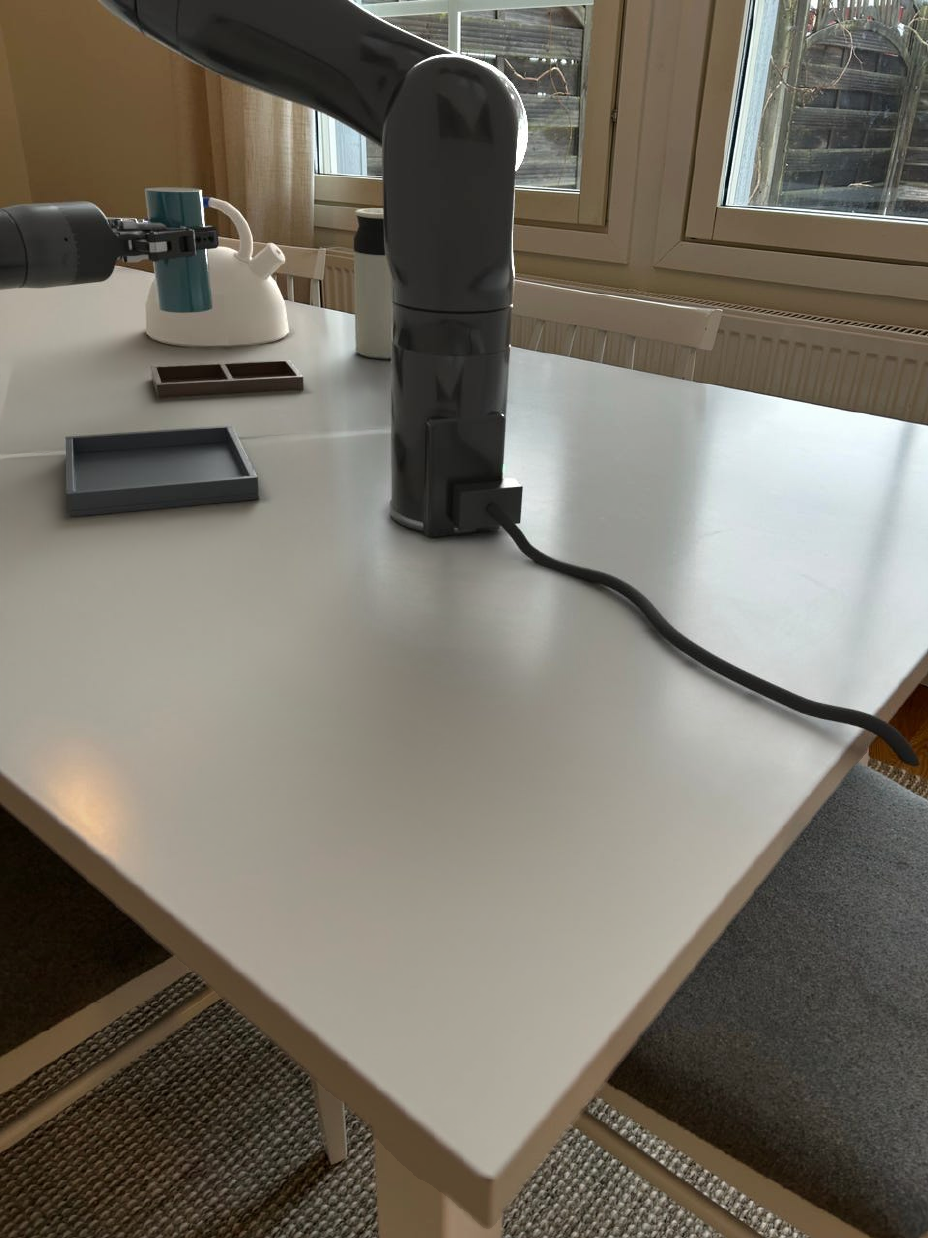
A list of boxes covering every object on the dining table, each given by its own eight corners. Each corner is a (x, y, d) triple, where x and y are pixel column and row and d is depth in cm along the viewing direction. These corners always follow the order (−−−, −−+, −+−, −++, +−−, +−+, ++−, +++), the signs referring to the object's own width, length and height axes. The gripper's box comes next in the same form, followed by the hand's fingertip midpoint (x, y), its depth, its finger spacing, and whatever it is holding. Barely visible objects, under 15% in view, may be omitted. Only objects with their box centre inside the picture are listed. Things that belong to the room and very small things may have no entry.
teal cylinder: (215, 311, 104) (205, 191, 98) (160, 313, 102) (146, 191, 96) (209, 302, 109) (198, 187, 103) (156, 303, 107) (143, 186, 101)
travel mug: (346, 356, 128) (342, 211, 119) (369, 344, 135) (368, 206, 126) (400, 362, 126) (401, 215, 117) (422, 350, 132) (424, 210, 124)
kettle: (264, 353, 128) (255, 207, 119) (119, 342, 130) (99, 198, 122) (309, 323, 145) (304, 194, 137) (180, 314, 148) (167, 187, 139)
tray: (259, 499, 81) (257, 477, 81) (69, 517, 77) (65, 493, 76) (233, 444, 94) (231, 424, 93) (69, 457, 89) (65, 436, 88)
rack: (303, 392, 111) (303, 376, 110) (158, 401, 106) (156, 384, 105) (289, 374, 118) (289, 359, 117) (152, 382, 113) (150, 366, 112)
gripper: (87, 209, 86) (236, 201, 98) (8, 197, 94) (155, 191, 106) (99, 295, 90) (242, 278, 101) (22, 276, 98) (163, 262, 109)
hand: (197, 233), depth 103 cm, fingers closed on teal cylinder, 6 cm apart
